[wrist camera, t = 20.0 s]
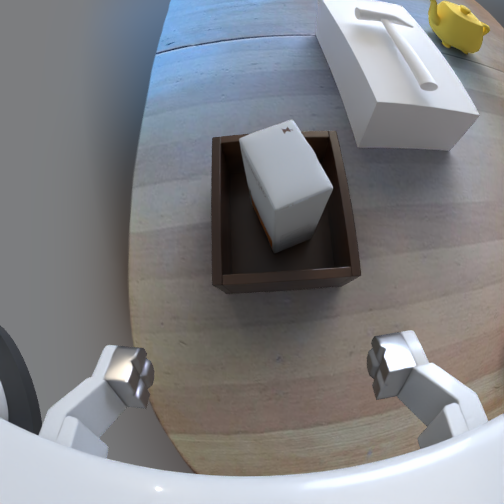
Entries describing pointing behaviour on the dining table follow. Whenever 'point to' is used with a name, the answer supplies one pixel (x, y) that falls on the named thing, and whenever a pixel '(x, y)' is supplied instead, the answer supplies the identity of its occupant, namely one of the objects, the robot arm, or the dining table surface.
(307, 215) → the cosmetic box
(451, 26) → the teapot
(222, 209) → the holder
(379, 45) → the hammer relief block
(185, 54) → the dining table surface
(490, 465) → the robot arm
